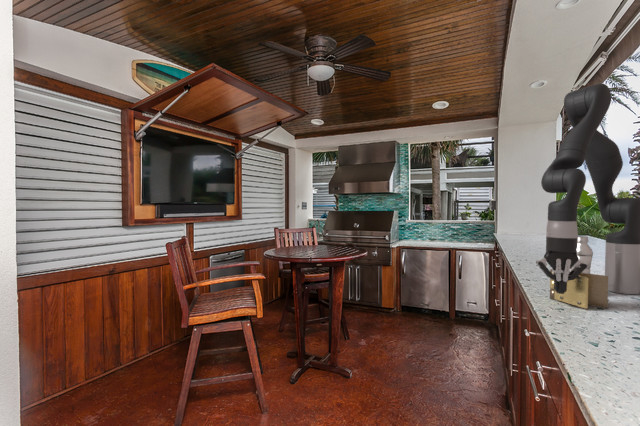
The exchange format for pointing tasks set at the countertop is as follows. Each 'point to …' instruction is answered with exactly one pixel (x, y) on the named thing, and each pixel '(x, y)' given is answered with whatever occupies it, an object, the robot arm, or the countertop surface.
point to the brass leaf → (574, 292)
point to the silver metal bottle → (584, 253)
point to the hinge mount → (593, 289)
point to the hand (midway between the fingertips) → (559, 293)
